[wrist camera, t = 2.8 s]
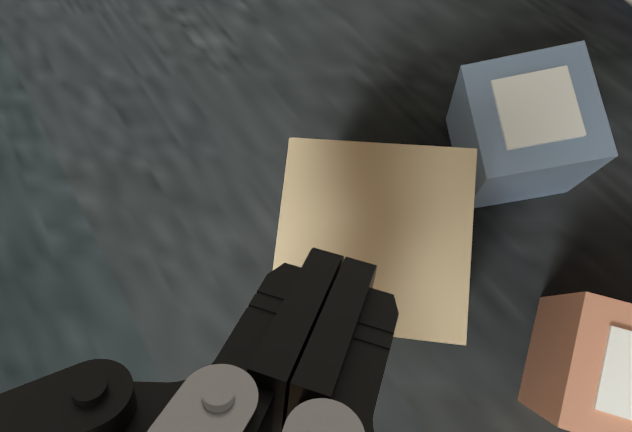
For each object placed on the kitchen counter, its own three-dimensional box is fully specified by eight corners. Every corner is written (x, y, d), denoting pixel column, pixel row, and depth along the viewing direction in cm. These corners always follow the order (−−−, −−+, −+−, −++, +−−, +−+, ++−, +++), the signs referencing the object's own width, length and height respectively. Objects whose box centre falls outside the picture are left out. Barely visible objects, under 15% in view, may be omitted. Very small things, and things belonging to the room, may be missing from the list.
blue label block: (541, 101, 26) (586, 37, 20) (566, 192, 25) (620, 154, 19) (445, 119, 27) (461, 63, 21) (465, 209, 26) (487, 177, 20)
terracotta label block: (650, 327, 24) (738, 331, 18) (630, 435, 23) (715, 477, 17) (539, 297, 25) (587, 291, 19) (517, 400, 24) (559, 428, 18)
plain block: (451, 198, 26) (477, 148, 18) (442, 336, 25) (466, 345, 17) (318, 188, 27) (289, 137, 20) (303, 320, 26) (266, 321, 18)
